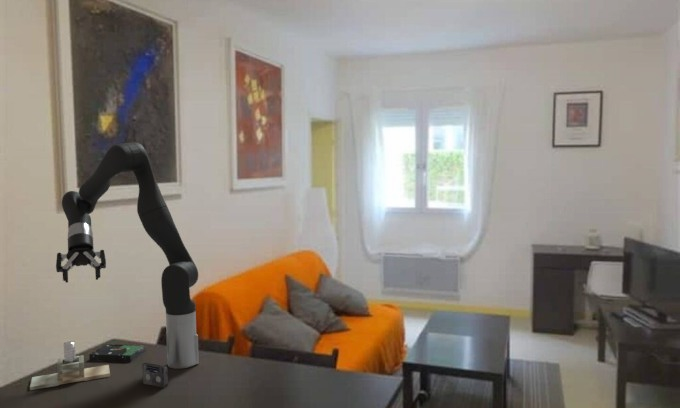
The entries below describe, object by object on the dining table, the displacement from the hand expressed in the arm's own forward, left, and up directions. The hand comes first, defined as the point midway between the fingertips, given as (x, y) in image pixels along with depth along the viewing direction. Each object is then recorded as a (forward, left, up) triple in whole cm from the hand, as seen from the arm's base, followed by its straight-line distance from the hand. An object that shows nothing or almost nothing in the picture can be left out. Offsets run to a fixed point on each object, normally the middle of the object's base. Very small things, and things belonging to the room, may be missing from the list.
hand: (82, 279), depth 161 cm
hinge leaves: (+4, +7, -29) cm, 30 cm away
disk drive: (-10, -8, -29) cm, 32 cm away
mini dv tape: (-18, +24, -29) cm, 42 cm away
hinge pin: (+4, +7, -28) cm, 29 cm away
